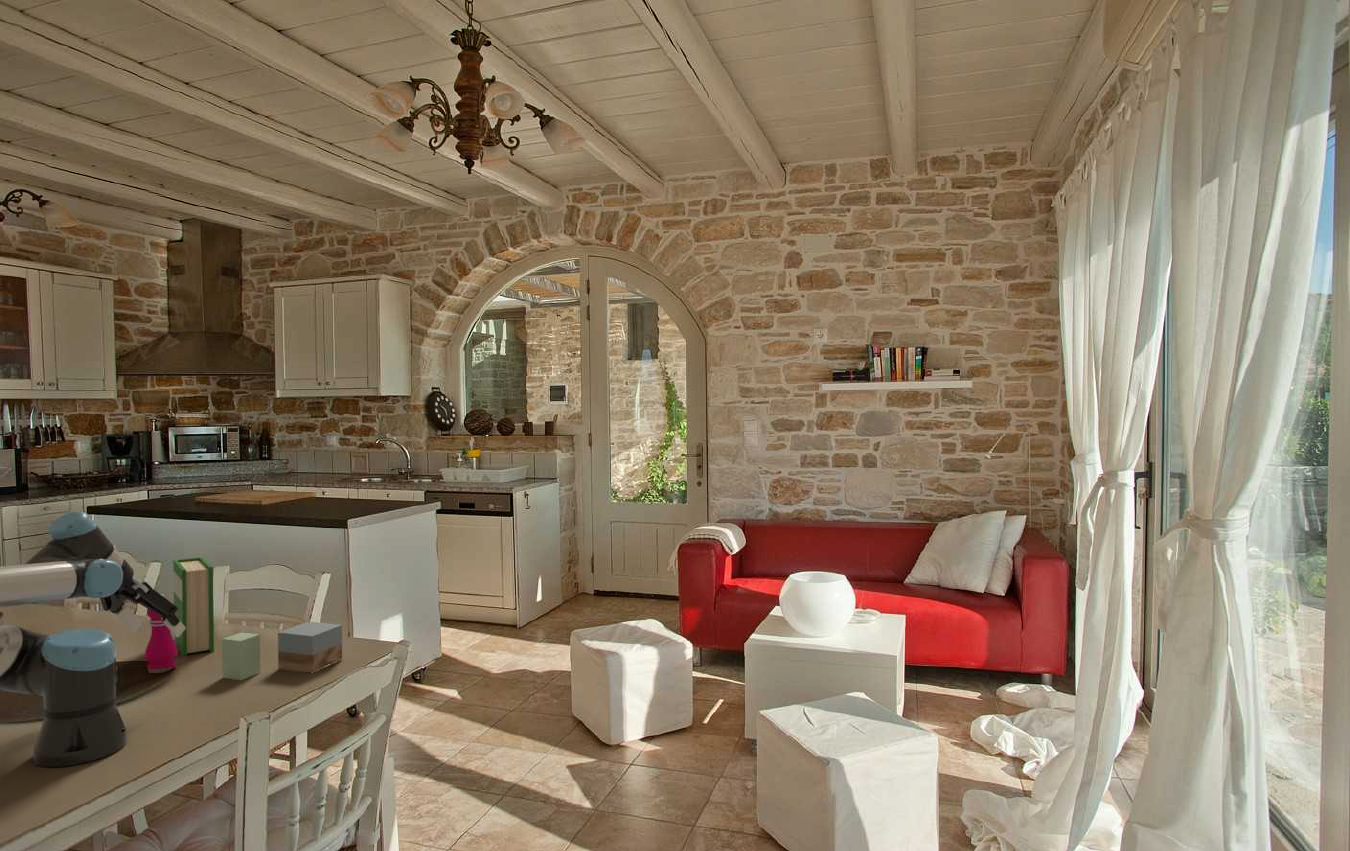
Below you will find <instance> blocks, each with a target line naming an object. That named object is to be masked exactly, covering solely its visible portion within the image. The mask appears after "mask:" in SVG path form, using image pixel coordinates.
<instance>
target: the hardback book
mask: <svg viewBox="0 0 1350 851" xmlns="http://www.w3.org/2000/svg"><path fill="white" fill-rule="evenodd" d="M172 565H173V566H172V567H173V604H174V605H175V606H176V607H178V610H177V611H176V612H175V615H176V616H177V618H178V619H179V620H180V621H181V622H182V624H183V625H184V626H185V627H186V629H185V630H184V631H183V632H182V634H181V635H180V636H179V637H175V636H174V635H173V637H174V638H173V640H174V641H175V643H176V646H177V650H178V652H180V654H181V656H182V658H186V657H188V654H191V653H197V652H203V651H204V652H205V651H209V653H214V652H215V639H214V638H215V635H214V634H215V633H214V632H215V631H214V630H215V625H214V624H215V622H214V617H215V616H214V566H213V565H212V564H210V563H209V562H208V561H207V559H205V558H204V557H203V556H201V557H191V558H181V559H173V562H172Z"/></svg>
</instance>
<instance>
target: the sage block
mask: <svg viewBox="0 0 1350 851" xmlns="http://www.w3.org/2000/svg"><path fill="white" fill-rule="evenodd" d="M221 646H222V647H221V651H222V652H221V654H222V655H221V656H222V659H221V660H222V665H221V666H222V667H221V668H222V679H229V680H236V681H244V680H245V679H248V678H250V677H252V676H255V675H258V674H260V673H261V635H260V633H259V634H258V633H250V632H248V633H247V632H239V633H235V634H232V635H230V636H227V637H224V638H221Z"/></svg>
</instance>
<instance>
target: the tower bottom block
mask: <svg viewBox="0 0 1350 851" xmlns="http://www.w3.org/2000/svg"><path fill="white" fill-rule="evenodd" d="M277 654H278V655H277V660H278V662H277V664H278V666H277V667H278V668H277V669H278V670H281V669H285V670H284V671H289V670H293V671H292V672H297V671H302V672H301V673H305V672H315V673H317V672H318V671H317V670H319V669H321V668H323V667H324V666H326V665H328V664H332V663H334V662H336V661H339V660H341V659H342V660H343V642H342V643H341V644H339V645H337V646H334V647H332V648H329V649H327V650H325V651H322V652H320V653H317V654H315V655H305V654H296V653H288V652H280V651H278V650H277ZM316 671H317V672H316Z"/></svg>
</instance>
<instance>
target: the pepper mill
mask: <svg viewBox="0 0 1350 851" xmlns="http://www.w3.org/2000/svg"><path fill="white" fill-rule="evenodd" d="M159 594H160V595H162V596H163V597H164V598H165V595H164V594H163V593H159ZM167 600H168V601H170V600H169V599H167ZM170 602H171V603H172V604H174V602H172V601H170ZM146 615H147V616H148V617H149V618H150V619H149V620H148V621H149V626H150V627H151V628H150V629H151V631H150V632H151V635H150V638H149V641H148V643H147V645H146V648H145V652H144V658H145V660H146V661H147V662H148V664H147V665H146V669H147V668H150V669H161V668H169V667H172V668H175V669H176V666H177V665H176V663H177V662H176V660H174V659H175V658H176V657H177V655H178V652H179V650H178V647H177V645H176V643H175V641H174V638H173V636H172V635H173V634H172V632H171V631H170V630H169V628H168V627H167V626H166V625H165V624H164V622H163V621H161V618H162V617H161V616H159V615H157V614H156V613H154V612H152V611H151V610H149V609H147V608H146Z"/></svg>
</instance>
